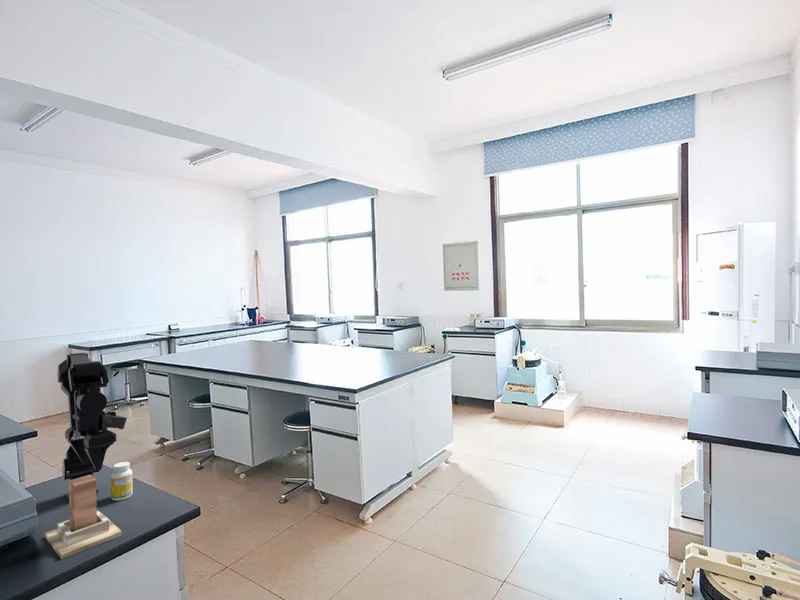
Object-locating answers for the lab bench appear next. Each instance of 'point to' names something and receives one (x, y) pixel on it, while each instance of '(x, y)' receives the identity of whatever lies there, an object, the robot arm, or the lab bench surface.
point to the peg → (82, 502)
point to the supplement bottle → (121, 481)
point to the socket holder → (81, 536)
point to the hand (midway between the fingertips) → (92, 466)
